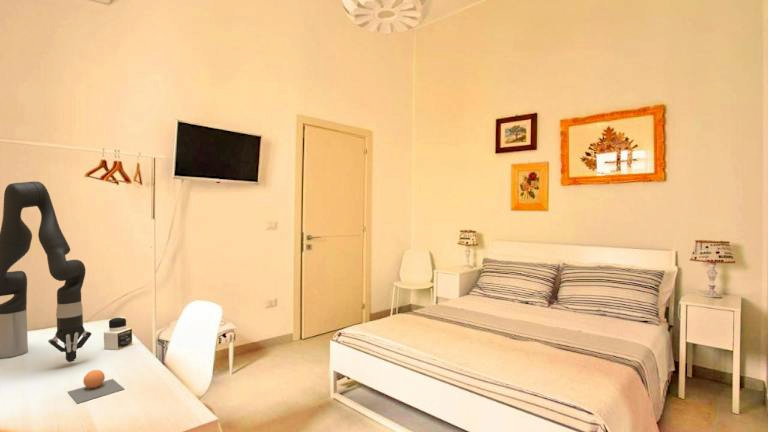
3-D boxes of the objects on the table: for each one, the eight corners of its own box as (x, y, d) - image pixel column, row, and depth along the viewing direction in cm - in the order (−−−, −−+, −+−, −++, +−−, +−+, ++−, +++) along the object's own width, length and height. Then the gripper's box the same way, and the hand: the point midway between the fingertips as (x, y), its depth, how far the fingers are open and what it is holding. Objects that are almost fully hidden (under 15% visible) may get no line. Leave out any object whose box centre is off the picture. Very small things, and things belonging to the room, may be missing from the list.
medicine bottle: (118, 350, 161) (117, 320, 161) (103, 349, 163) (102, 320, 163) (132, 344, 168) (131, 316, 168) (118, 343, 170) (117, 315, 170)
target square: (67, 392, 123) (67, 391, 123) (112, 379, 132) (112, 378, 132) (77, 403, 116) (77, 403, 116) (124, 389, 125) (124, 388, 125)
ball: (82, 393, 123) (78, 379, 126) (101, 390, 128) (97, 376, 131) (90, 381, 122) (86, 367, 125) (109, 378, 127) (105, 365, 130)
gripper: (49, 320, 138) (51, 369, 138) (94, 312, 149) (96, 357, 149) (43, 317, 143) (45, 364, 143) (87, 309, 153) (89, 353, 153)
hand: (71, 361), depth 146 cm, fingers closed
